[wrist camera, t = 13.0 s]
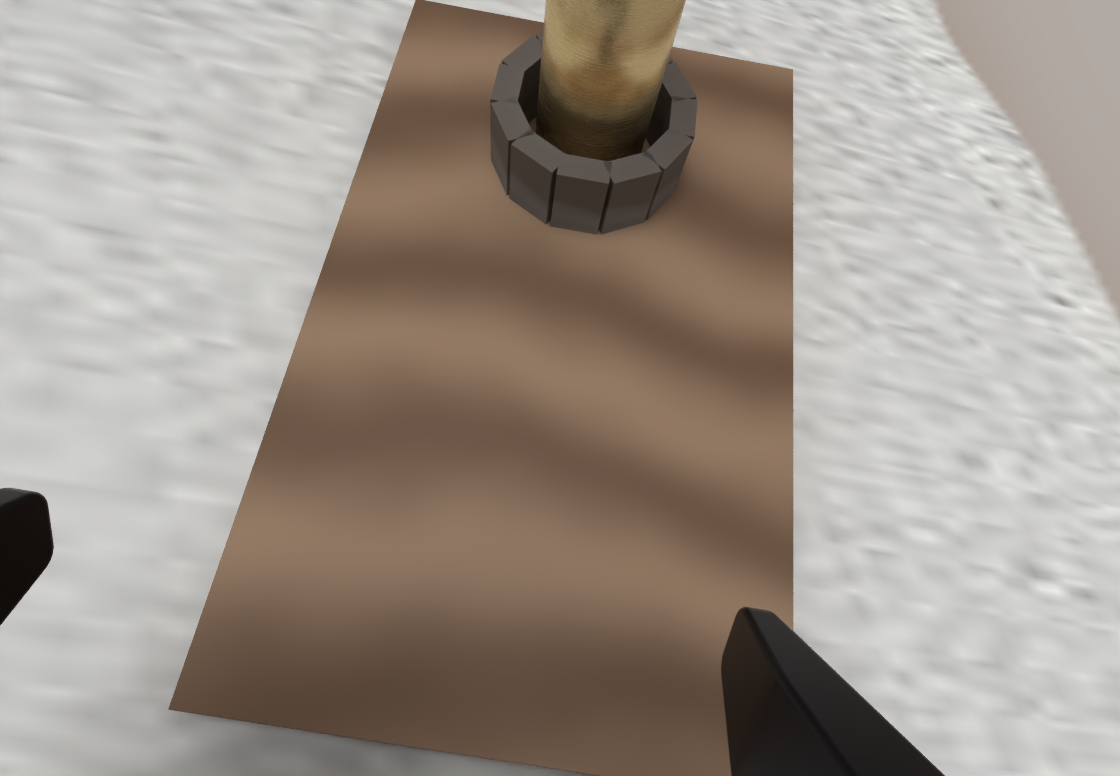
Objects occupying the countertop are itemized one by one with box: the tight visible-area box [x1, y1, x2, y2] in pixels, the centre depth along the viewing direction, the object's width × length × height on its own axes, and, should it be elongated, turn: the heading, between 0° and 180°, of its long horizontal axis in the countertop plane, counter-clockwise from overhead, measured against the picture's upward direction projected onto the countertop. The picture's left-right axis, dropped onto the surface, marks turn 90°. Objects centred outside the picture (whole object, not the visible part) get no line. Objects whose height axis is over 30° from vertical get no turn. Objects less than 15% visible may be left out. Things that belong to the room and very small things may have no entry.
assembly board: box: [168, 0, 793, 776], centre depth 24 cm, size 30×18×4 cm, turn 172°
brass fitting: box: [535, 0, 686, 162], centre depth 21 cm, size 4×4×13 cm
